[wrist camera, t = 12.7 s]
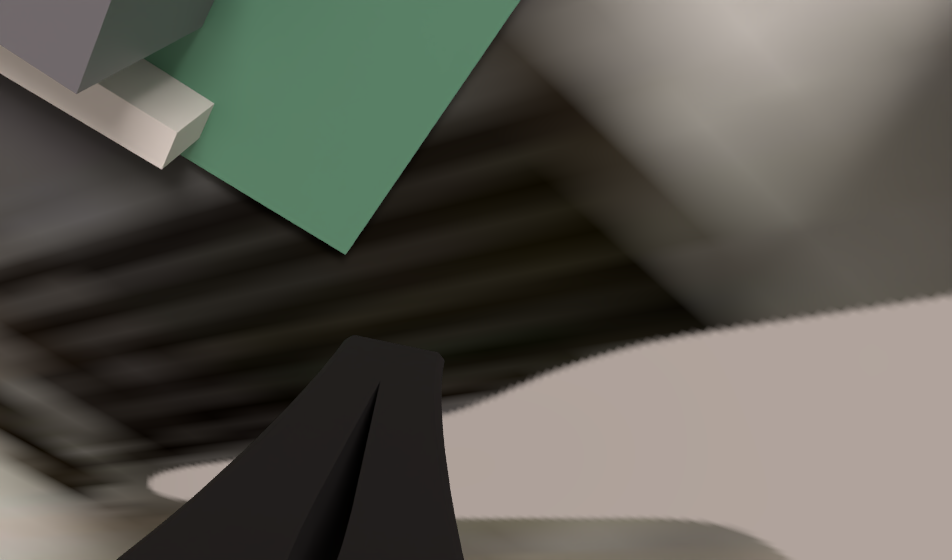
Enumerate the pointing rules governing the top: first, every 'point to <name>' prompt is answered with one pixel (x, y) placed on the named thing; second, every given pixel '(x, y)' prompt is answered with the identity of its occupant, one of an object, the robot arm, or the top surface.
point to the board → (292, 98)
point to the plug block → (94, 34)
